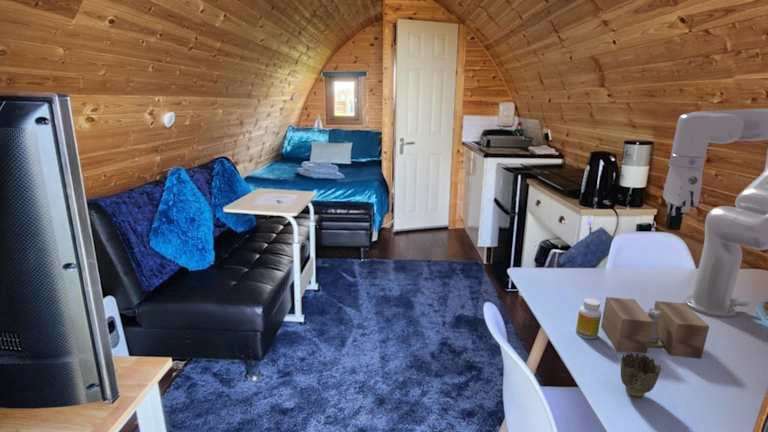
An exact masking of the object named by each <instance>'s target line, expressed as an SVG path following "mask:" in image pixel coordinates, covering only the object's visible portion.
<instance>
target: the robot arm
mask: <svg viewBox="0 0 768 432" xmlns="http://www.w3.org/2000/svg"><path fill="white" fill-rule="evenodd" d="M764 140H767V141H768V108H750V109H749V108H745V109H731V110H729V109H728V110H727V109H726V110H725V109H724V110H702V111H700V110H699V111H698V110H697V111H692V112H689V113H684V114H682V115H680V116H679V118H678V120H677V124H676V129H675V134H674V138H673V142H672V143H673V144H672V148H671V154H670V157H669V162H668V167H669V169H668V172H667V176H666V179H665V183H664V187H663V192H662V198H663V199H664V200H665V204H666V205H667V208H666V209H667V211H666V213H667V216H666V220H665V224H664V228H665V229H666V230H669V231H670V230H671V231H680V230H681V227H682V223H683V217H685V215H686V214H688V213H691V211H690V210H691V208H698V206H699V203H700V198H701V191H702V185H703V169H704V165H705V160H706V157H707V156H706V155H707V153H708V152H707V151H708V147H709V143H713V144H725V145H726V144H731V143H733V142H735V141H741V142H742V141H747V142H749V141H750V142H756V141H764ZM734 206H735V207H734ZM734 206H729V205H728V206H727V205H722V206H721V205H720V206H717V207H714V208H712V209H711V210H709V212H708V213H707V215H706V217H705V222H704V242H703V247H702V252H701V255H700V260H699V264H698V269H697V273H696V277H695V281H694V285H693V290H692V293H691V295H688V296H685V298H684V303H685V304H686V305H687V306H688V307H689V308H690V309H691V310H692V311H695V312H698V313H701V314H703V315H707V316H712V317H716V318H730V317H733V316H734V315H735V314H736V309H735V308H737V307H741V308H742V307H743V308H744V307H746V308H748V307H749V300H747V299H746V300H745V299H739V297H737V296H733V294H734V292H735V286H736V284H737V280H738V276H739V273H740V268H741V265H742V261H743V251H742V247H741V246H744V247H747V248H750V249H754V250H757V251H766V250H768V149H767V152H766V160H765V166H764V170H763V171H762V173H761V174H760V175H759V176H757V178H755V179H754V181H752V182H751V183H750V184H748V185H747V186H746V187H745V188H744V189H743V190H742V191H741V192H740V193H739V194H738V195H737V196H736V198H735V201H734Z"/></svg>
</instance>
